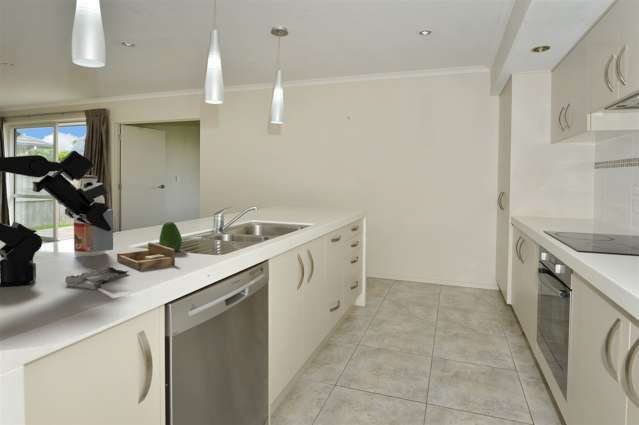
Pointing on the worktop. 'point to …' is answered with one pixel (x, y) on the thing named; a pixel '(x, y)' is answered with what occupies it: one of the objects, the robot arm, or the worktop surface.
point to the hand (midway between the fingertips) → (107, 229)
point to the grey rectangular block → (104, 234)
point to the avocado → (170, 236)
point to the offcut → (154, 257)
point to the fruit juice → (85, 229)
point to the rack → (138, 257)
